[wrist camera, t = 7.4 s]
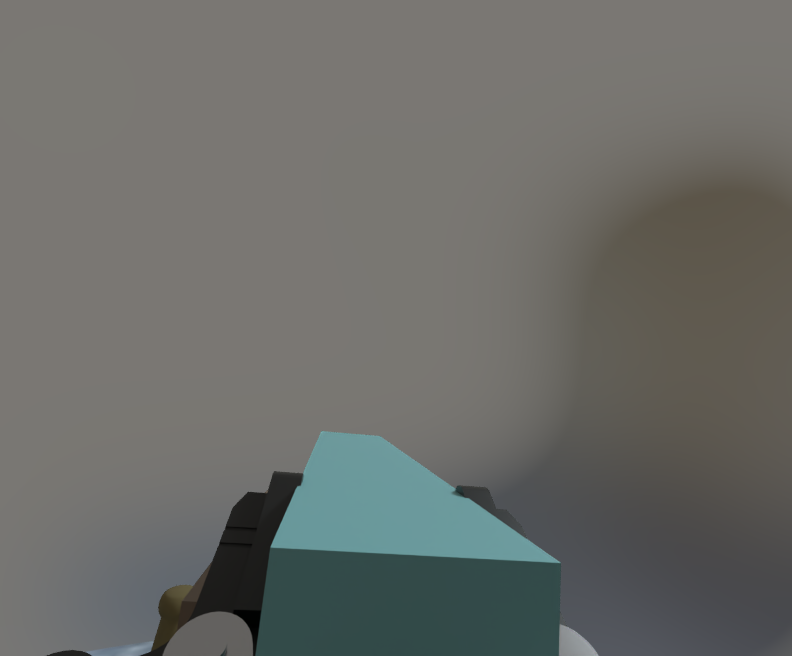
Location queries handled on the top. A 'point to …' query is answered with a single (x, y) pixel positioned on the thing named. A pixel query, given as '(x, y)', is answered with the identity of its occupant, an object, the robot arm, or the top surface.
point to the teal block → (400, 566)
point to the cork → (169, 613)
